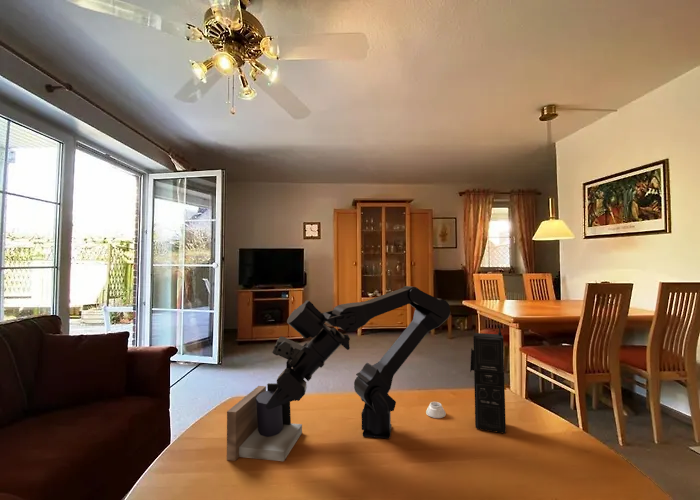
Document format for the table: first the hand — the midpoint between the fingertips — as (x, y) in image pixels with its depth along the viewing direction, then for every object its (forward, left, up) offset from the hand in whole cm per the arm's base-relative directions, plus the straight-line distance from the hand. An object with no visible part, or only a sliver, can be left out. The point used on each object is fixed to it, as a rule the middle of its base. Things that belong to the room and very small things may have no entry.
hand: (271, 399), depth 77 cm
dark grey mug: (0, -2, -8) cm, 8 cm away
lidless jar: (-38, -21, -10) cm, 45 cm away
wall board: (0, 0, -10) cm, 10 cm away
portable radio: (-50, -16, -10) cm, 54 cm away
